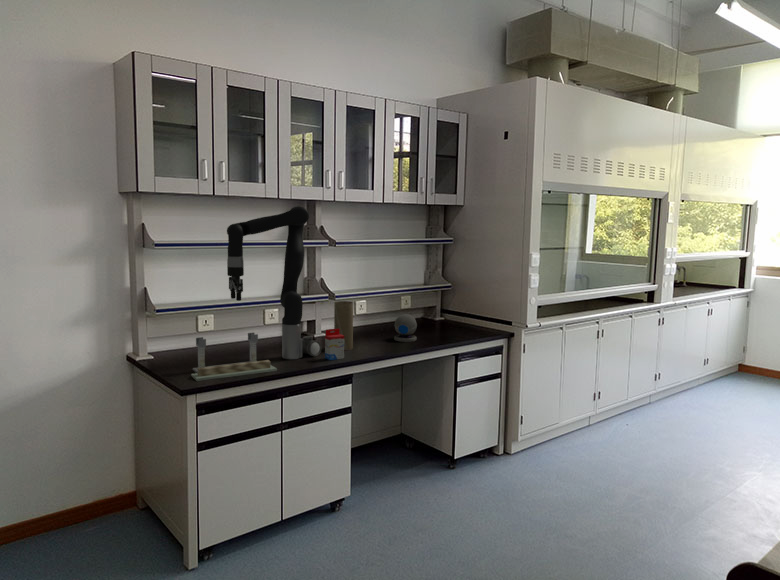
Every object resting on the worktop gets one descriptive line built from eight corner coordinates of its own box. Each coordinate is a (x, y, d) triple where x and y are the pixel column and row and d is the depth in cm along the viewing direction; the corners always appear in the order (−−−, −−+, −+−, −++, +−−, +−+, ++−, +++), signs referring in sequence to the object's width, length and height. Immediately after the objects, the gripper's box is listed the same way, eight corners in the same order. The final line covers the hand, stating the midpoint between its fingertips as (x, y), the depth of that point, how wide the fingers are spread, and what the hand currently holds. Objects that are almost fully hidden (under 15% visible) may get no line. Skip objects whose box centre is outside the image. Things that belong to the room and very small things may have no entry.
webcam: (418, 338, 348) (418, 313, 347) (413, 342, 336) (414, 316, 334) (397, 336, 351) (397, 312, 350) (391, 340, 339) (392, 315, 337)
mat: (269, 366, 275) (269, 364, 275) (276, 370, 268) (276, 368, 268) (191, 376, 256) (191, 373, 256) (196, 381, 249) (196, 378, 249)
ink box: (329, 360, 289) (329, 331, 287) (324, 358, 293) (324, 329, 291) (344, 358, 294) (344, 329, 292) (339, 356, 298) (339, 328, 296)
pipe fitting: (323, 354, 300) (320, 334, 299) (311, 358, 294) (308, 338, 293) (307, 353, 308) (304, 334, 307) (295, 357, 302) (293, 337, 301)
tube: (344, 345, 325) (344, 300, 322) (356, 348, 318) (356, 302, 315) (330, 348, 317) (330, 302, 314) (342, 351, 310) (343, 304, 308)
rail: (268, 366, 272) (267, 359, 271) (270, 367, 269) (270, 361, 269) (197, 374, 255) (197, 368, 254) (199, 376, 252) (199, 369, 252)
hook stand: (256, 362, 282) (256, 331, 280) (262, 366, 276) (261, 334, 274) (192, 370, 266) (191, 337, 265) (197, 374, 260) (196, 340, 258)
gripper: (248, 266, 276) (248, 300, 278) (238, 264, 288) (238, 297, 290) (232, 267, 272) (232, 301, 274) (223, 265, 284) (223, 298, 286)
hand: (235, 299), depth 282 cm, fingers open, 8 cm apart
